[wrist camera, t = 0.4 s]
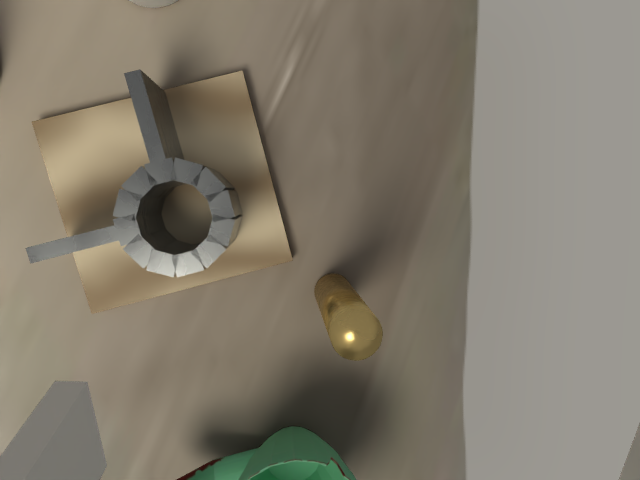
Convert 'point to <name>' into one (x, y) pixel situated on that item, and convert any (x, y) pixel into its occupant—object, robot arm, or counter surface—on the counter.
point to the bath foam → (153, 3)
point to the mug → (279, 460)
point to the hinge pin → (347, 318)
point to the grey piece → (159, 198)
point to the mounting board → (181, 204)
